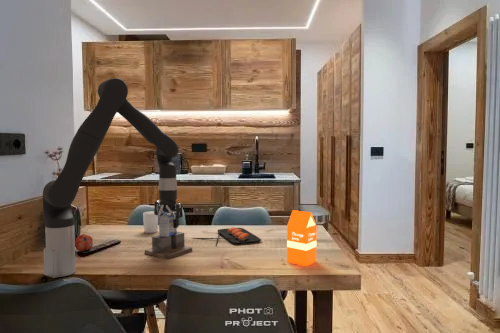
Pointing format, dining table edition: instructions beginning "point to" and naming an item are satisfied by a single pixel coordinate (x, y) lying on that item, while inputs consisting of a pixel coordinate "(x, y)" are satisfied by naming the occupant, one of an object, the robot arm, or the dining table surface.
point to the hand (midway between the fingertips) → (168, 226)
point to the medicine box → (166, 225)
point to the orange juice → (301, 238)
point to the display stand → (168, 246)
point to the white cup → (150, 222)
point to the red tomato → (83, 242)
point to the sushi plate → (236, 235)
